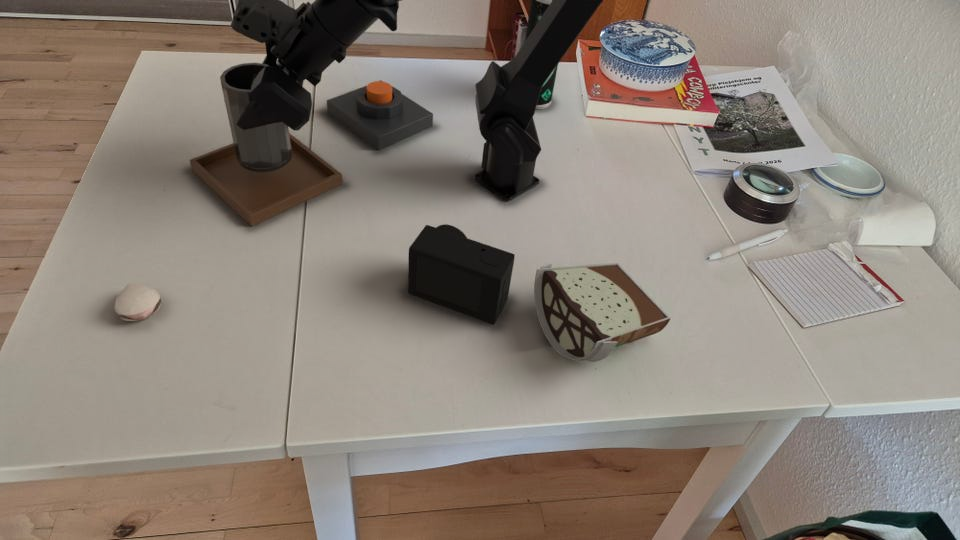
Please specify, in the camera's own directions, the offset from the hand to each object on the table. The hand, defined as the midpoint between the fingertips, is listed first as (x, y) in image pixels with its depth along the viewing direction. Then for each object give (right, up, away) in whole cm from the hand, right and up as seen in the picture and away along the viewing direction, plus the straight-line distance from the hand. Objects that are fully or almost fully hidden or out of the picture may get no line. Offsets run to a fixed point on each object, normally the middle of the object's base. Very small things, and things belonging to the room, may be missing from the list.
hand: (244, 110), depth 79 cm
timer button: (+14, +6, +16) cm, 22 cm away
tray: (0, -7, +7) cm, 10 cm away
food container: (+45, -23, -7) cm, 51 cm away
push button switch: (+13, +3, +19) cm, 23 cm away
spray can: (+36, +8, +27) cm, 46 cm away
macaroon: (-7, -23, -10) cm, 26 cm away
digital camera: (+26, -22, -4) cm, 34 cm away
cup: (+1, -5, +5) cm, 7 cm away
